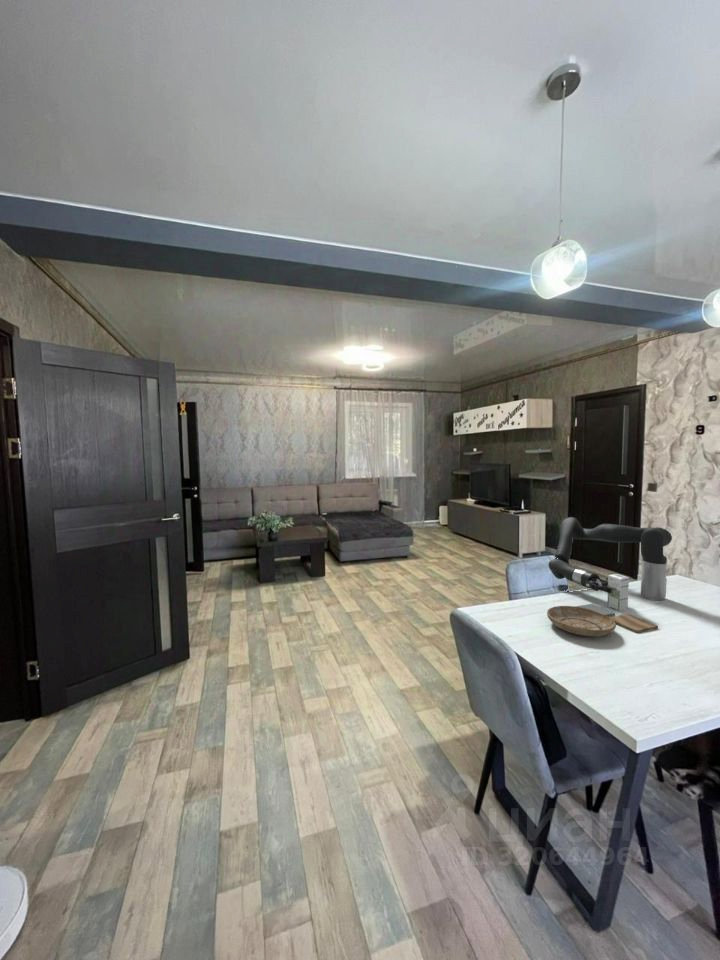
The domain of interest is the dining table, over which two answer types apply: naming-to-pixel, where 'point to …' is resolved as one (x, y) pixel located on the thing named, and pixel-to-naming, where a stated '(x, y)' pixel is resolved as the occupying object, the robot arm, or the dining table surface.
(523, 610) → the dining table surface
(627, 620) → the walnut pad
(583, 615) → the ceramic bowl
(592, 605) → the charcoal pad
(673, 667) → the dining table surface
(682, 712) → the dining table surface
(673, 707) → the dining table surface
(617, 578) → the syrup box
